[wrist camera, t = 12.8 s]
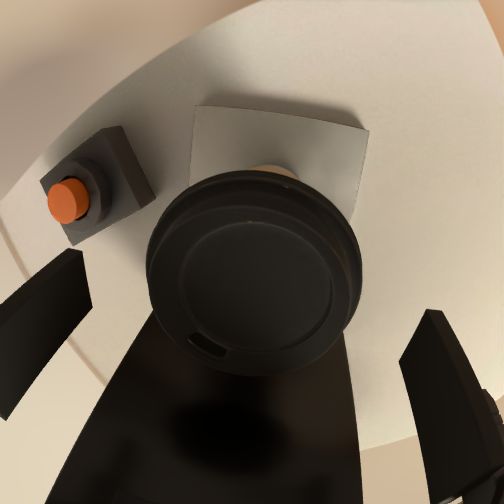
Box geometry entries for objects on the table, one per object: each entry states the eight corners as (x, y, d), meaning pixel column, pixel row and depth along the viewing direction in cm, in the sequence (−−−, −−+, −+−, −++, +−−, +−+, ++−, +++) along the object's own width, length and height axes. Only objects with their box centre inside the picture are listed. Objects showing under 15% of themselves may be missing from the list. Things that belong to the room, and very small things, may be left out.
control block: (121, 125, 25) (90, 130, 20) (156, 198, 27) (131, 215, 23) (58, 173, 27) (27, 185, 23) (88, 234, 30) (62, 254, 26)
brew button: (78, 170, 22) (64, 176, 20) (96, 206, 23) (82, 214, 22) (55, 188, 23) (41, 195, 21) (72, 221, 24) (59, 230, 23)
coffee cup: (210, 240, 27) (139, 361, 14) (221, 133, 23) (127, 165, 9) (314, 259, 27) (329, 398, 13) (339, 154, 22) (407, 213, 9)
